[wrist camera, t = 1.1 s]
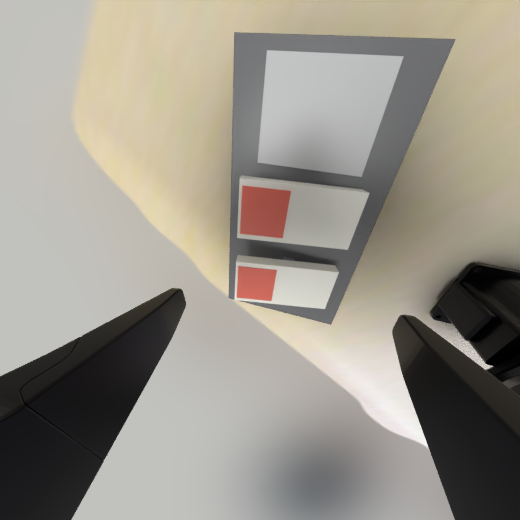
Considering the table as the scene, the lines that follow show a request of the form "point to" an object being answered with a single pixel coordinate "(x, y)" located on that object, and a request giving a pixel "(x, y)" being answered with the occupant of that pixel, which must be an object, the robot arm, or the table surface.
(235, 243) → the rocker switch panel
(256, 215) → the rocker
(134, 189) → the table surface
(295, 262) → the rocker
